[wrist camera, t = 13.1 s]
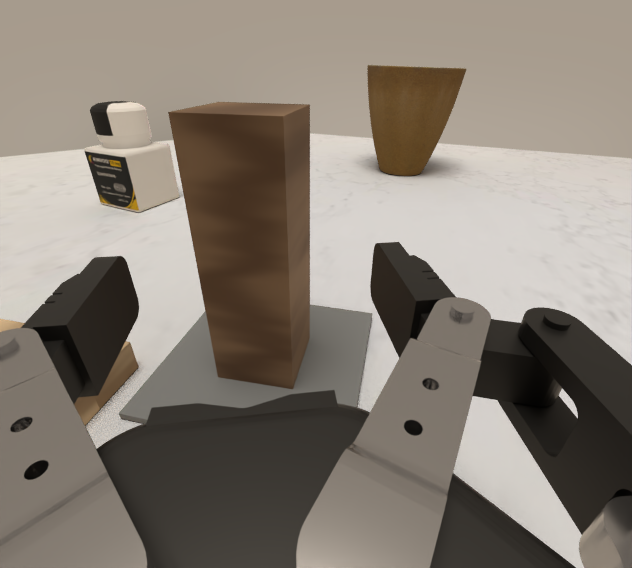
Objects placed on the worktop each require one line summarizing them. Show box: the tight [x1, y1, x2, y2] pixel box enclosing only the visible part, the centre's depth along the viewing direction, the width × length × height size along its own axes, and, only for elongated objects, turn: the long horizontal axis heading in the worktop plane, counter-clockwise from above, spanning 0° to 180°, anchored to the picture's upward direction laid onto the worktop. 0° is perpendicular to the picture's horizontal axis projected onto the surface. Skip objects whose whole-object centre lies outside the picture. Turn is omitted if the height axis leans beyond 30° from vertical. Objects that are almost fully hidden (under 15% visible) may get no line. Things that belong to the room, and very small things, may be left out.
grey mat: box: [119, 305, 372, 424], centre depth 23 cm, size 12×12×1 cm
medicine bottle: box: [85, 101, 179, 212], centre depth 45 cm, size 7×7×12 cm
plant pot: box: [368, 65, 466, 176], centre depth 60 cm, size 15×15×16 cm
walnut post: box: [168, 102, 310, 389], centre depth 19 cm, size 4×4×14 cm
